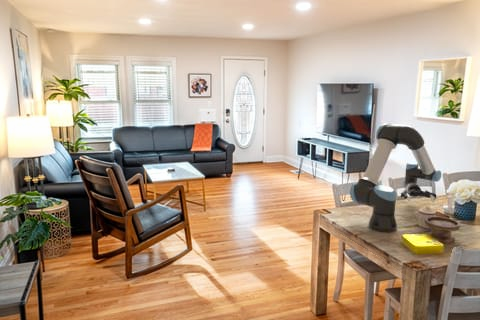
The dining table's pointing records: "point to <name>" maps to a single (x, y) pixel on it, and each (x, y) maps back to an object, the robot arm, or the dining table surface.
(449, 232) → the walnut pedestal
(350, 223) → the dining table surface
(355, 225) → the dining table surface
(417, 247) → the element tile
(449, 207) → the figurine
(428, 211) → the teacup with lid
